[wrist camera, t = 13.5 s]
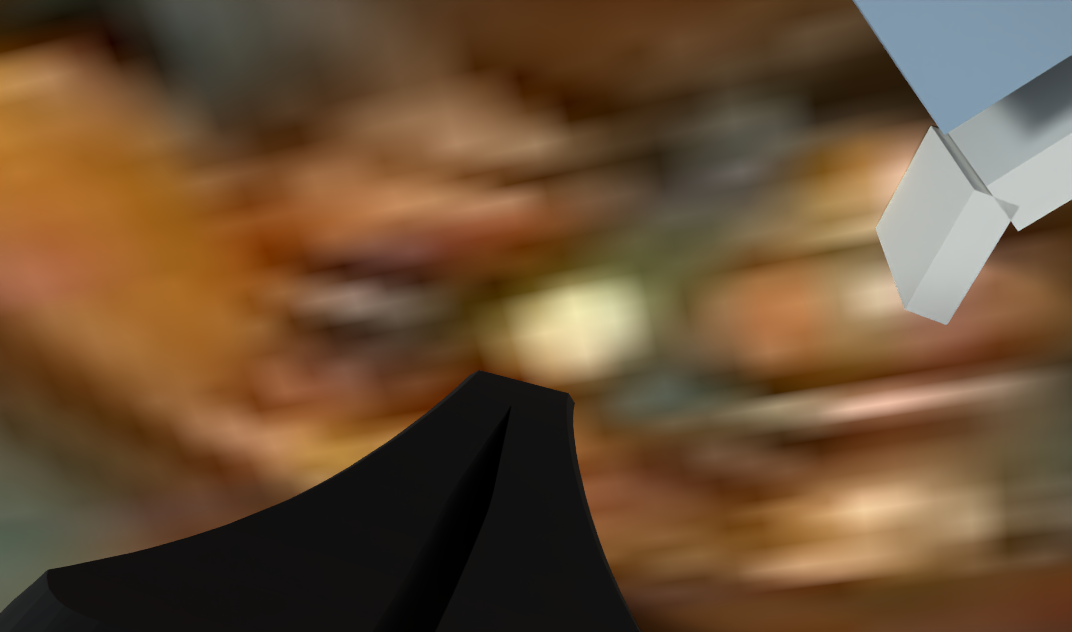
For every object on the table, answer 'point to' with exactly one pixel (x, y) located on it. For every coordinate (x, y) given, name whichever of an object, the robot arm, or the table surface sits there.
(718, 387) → the table surface
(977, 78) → the plug
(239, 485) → the table surface
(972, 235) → the port
